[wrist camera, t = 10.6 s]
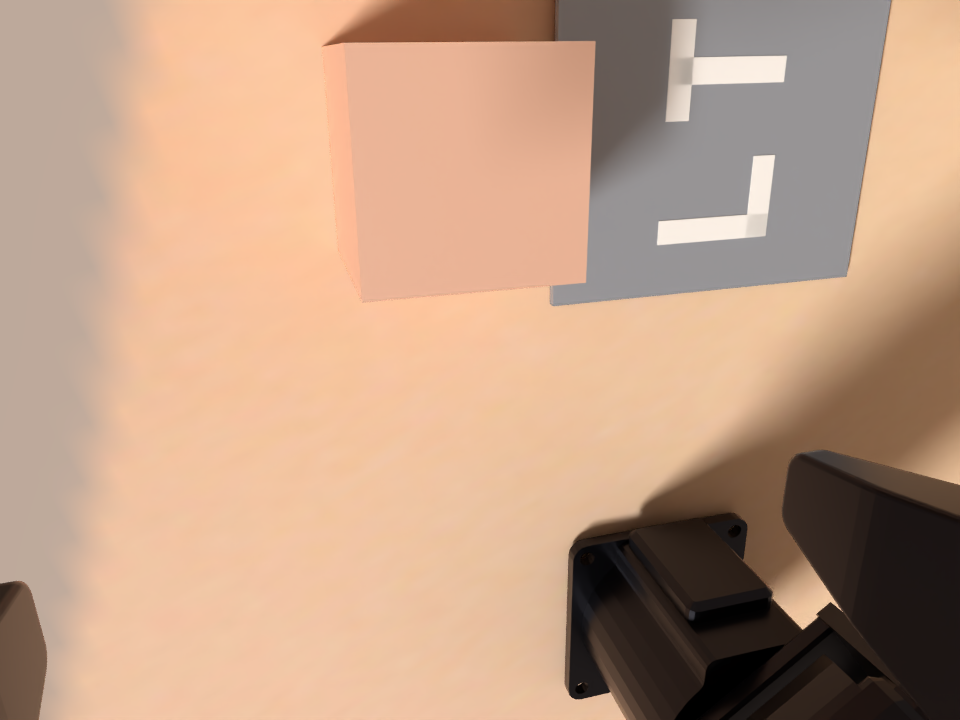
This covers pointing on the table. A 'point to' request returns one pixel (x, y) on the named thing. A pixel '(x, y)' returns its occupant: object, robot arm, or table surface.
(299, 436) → the table surface
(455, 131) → the block
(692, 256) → the tile
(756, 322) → the table surface
